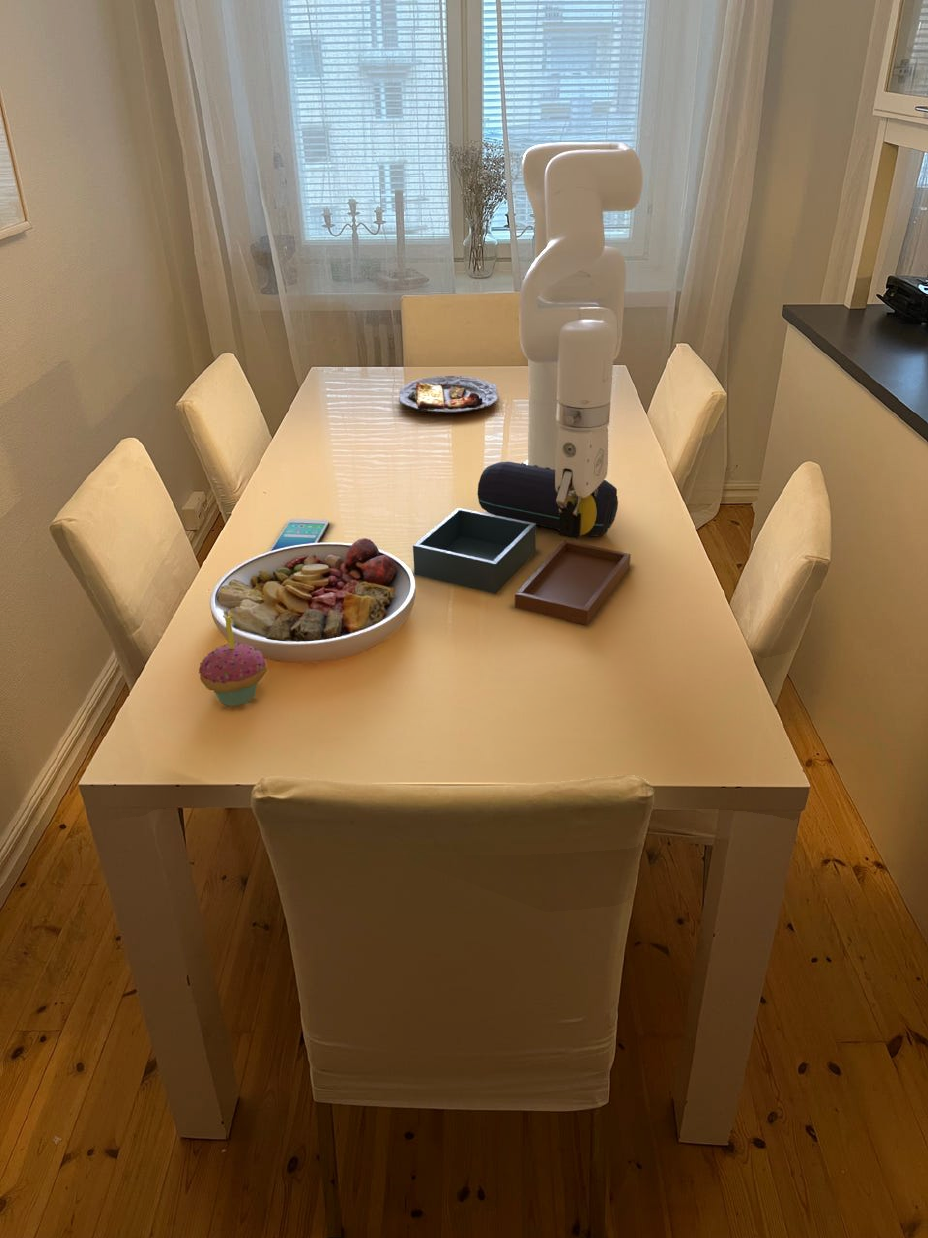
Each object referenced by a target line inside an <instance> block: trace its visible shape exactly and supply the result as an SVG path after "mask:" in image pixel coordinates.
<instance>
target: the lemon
mask: <svg viewBox="0 0 928 1238" xmlns="http://www.w3.org/2000/svg"><path fill="white" fill-rule="evenodd" d="M571 492H573V493H576V492H575V490H573V491H571ZM568 498H569V501H570V502H572V503H573V505H574V503H575V498H573V497H568ZM579 513H580V514H581V529H580V537H581V536H584V535H583V534H586V533H587V532H589V531H590V530H591V529H592V527H593V526H594V523H595V520H596V515H597V510H596V504H595V501H594V498H593V497H592V496H591V495H589V496H588V497H586V498H582V497H581V503H580V509H579ZM559 515H560V513H559Z"/></svg>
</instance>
